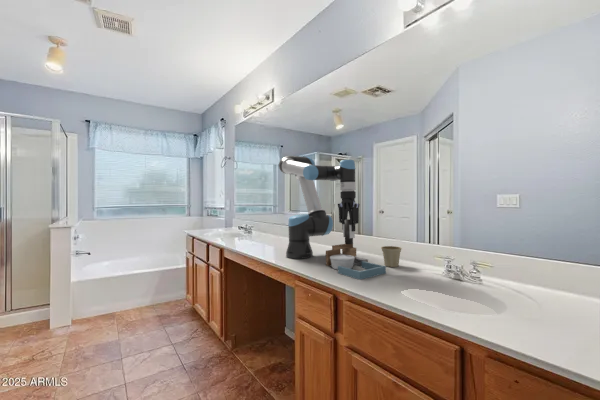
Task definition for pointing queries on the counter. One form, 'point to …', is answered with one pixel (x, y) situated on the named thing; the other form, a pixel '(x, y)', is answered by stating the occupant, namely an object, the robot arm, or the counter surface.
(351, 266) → the ramekin
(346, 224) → the pusher
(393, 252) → the flower pot
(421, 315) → the counter surface
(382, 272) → the frame
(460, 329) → the counter surface
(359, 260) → the rail
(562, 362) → the counter surface
